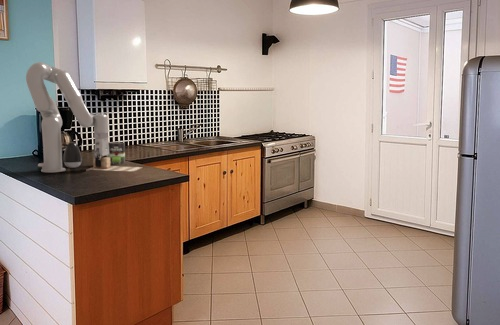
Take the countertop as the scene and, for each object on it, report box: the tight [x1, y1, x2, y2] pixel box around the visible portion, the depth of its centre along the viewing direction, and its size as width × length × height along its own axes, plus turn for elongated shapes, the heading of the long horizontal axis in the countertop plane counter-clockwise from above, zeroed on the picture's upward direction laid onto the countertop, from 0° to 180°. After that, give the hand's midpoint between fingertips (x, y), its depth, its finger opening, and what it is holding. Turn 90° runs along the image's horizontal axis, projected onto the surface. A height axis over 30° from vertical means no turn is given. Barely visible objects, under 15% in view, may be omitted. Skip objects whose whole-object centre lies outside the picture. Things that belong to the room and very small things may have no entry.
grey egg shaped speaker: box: [62, 141, 83, 169], centre depth 267 cm, size 10×10×15 cm
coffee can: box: [108, 141, 126, 166], centre depth 277 cm, size 10×10×14 cm
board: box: [85, 165, 144, 172], centre depth 259 cm, size 28×15×1 cm, turn 84°
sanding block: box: [92, 156, 111, 169], centre depth 259 cm, size 8×5×6 cm, turn 84°
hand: (101, 165), depth 259 cm, fingers open, 9 cm apart
